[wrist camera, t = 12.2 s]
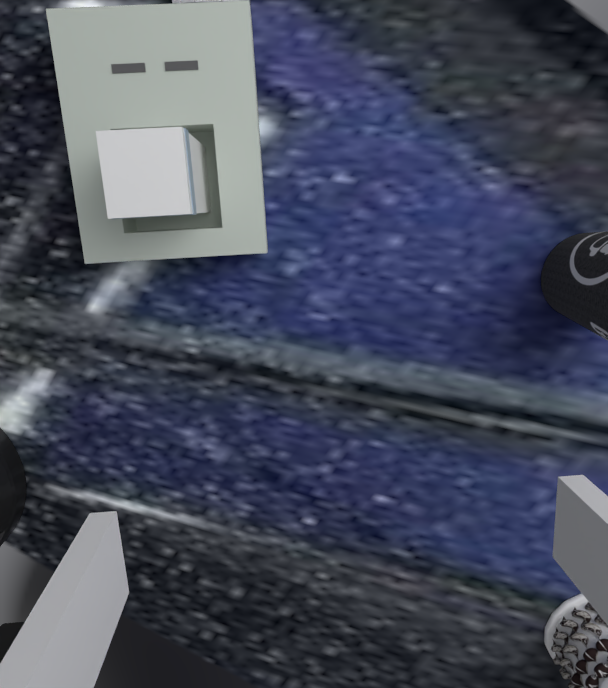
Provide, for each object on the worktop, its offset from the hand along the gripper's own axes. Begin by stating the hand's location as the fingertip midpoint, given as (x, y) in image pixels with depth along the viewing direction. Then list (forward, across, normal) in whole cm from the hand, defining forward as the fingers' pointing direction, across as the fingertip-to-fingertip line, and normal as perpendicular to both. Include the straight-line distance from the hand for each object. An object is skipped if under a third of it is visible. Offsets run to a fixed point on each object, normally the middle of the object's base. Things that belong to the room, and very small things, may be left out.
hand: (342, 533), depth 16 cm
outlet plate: (+27, -8, +14) cm, 31 cm away
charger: (+26, -8, +12) cm, 30 cm away
